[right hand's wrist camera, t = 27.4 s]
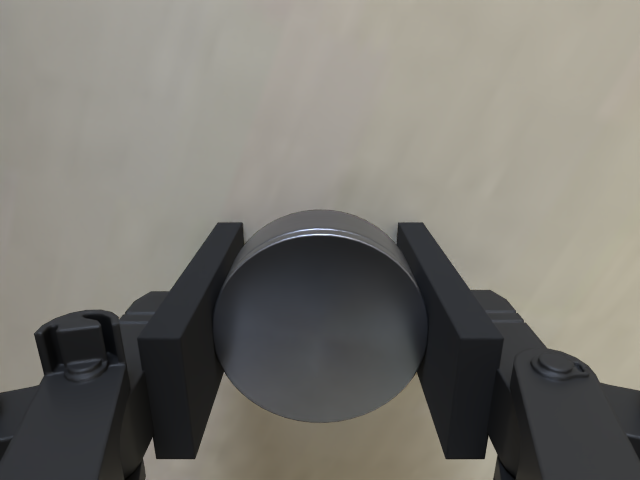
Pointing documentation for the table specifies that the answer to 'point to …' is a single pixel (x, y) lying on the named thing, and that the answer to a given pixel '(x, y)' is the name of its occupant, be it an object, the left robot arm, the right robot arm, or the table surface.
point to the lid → (320, 318)
